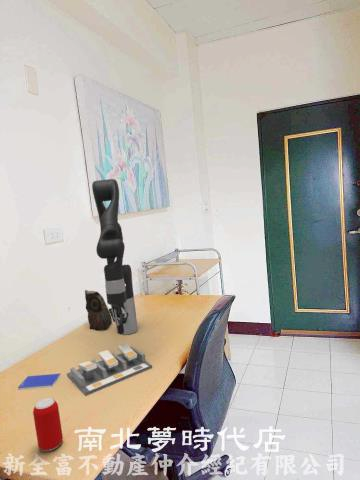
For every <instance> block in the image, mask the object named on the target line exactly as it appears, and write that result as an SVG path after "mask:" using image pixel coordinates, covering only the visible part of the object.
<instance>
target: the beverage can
mask: <svg viewBox="0 0 360 480" xmlns="http://www.w3.org/2000/svg"><path fill="white" fill-rule="evenodd" d="M32 415H33V421H34V428H35V434H36V439H37V447H38V448H39V450H40V451H43V452H51V451H53V450H55V449H57V448H58V447H59V446H60V445H61V444H62V443H63V439H64V437H63V435H64V434H63V430H62V423H61V416H60V410H59V404H58V402H57V401H56V400H55V399H54V398H53V397H47V398H42V399H40V400H39V401H37V402H36V403H35V405H34V407H33V411H32ZM50 449H51V450H50Z"/></svg>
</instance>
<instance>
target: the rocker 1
mask: <svg viewBox="0 0 360 480" xmlns="http://www.w3.org/2000/svg"><path fill="white" fill-rule="evenodd" d="M77 365H78V369H82V370H83V371H90V370H92V369H95V368H97V365H96V364H95V363H92V362H91V361H89V360H88V361H84V362H82V363H81V362H80V363H79V364H77Z"/></svg>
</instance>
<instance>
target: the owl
mask: <svg viewBox="0 0 360 480" xmlns="http://www.w3.org/2000/svg"><path fill="white" fill-rule="evenodd" d="M84 295H85V297H84V298H85V309H86V312H87V321H88V323H89V330H92V331H95V332H101V331H107V330H108V329H109V328H110V326H111V325H112V324H113V319H112V317H111V314H110V312H109V307H108V306H107V302H105V299H104V297H103V295H102V294H101V293H99V291H95V290H87V289H85V290H84Z"/></svg>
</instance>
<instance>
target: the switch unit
mask: <svg viewBox="0 0 360 480" xmlns="http://www.w3.org/2000/svg"><path fill="white" fill-rule="evenodd" d="M129 347H130V348H131V349H132V350H133V351H134V352H135V353H136V354H137V358H134V359H132V360H128V359H127V358H126V357H125V356H123V355H122V353H121V352H120V353H119V354H115V352H112V353H111V352H110V353H111V354H112V355H113V357H114V358H115V359H116V360H117V361H118V365H116V366H114V367H111V368H108V366H107V365H106V364H105V363H103V361H102V360H100V361H96V360H95V359H92V360H90V362H92V363H95V364H96V365H97V368H95V369H92V370H90V371H83V370H82V369H79V368H78V369H76V368H74V367H70V369H69V370H70V372H67V373H66V376H67V377H68V378H69V380H71V382H72V383H73V384H74V385H75V386H76V387H77V388H78V389H79V390H80V391H81V393H83V395H85V396H89V395H92V394H93V393H95V392H98V391H100V390H102V389H105V388H107V387H110V386H112V385H115V384H117V383H120V382H121V381H122V382H123V380H127V379H129V378H132V377H134V376H136V375H138V374H141V373H143V372H146V371H148V370H151V369H152V368H153V364H151V363H149V362H147V361H146V354H145V353H144V352H143V351H140V350H138V349H136V348H135V347H133V346H129Z"/></svg>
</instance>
